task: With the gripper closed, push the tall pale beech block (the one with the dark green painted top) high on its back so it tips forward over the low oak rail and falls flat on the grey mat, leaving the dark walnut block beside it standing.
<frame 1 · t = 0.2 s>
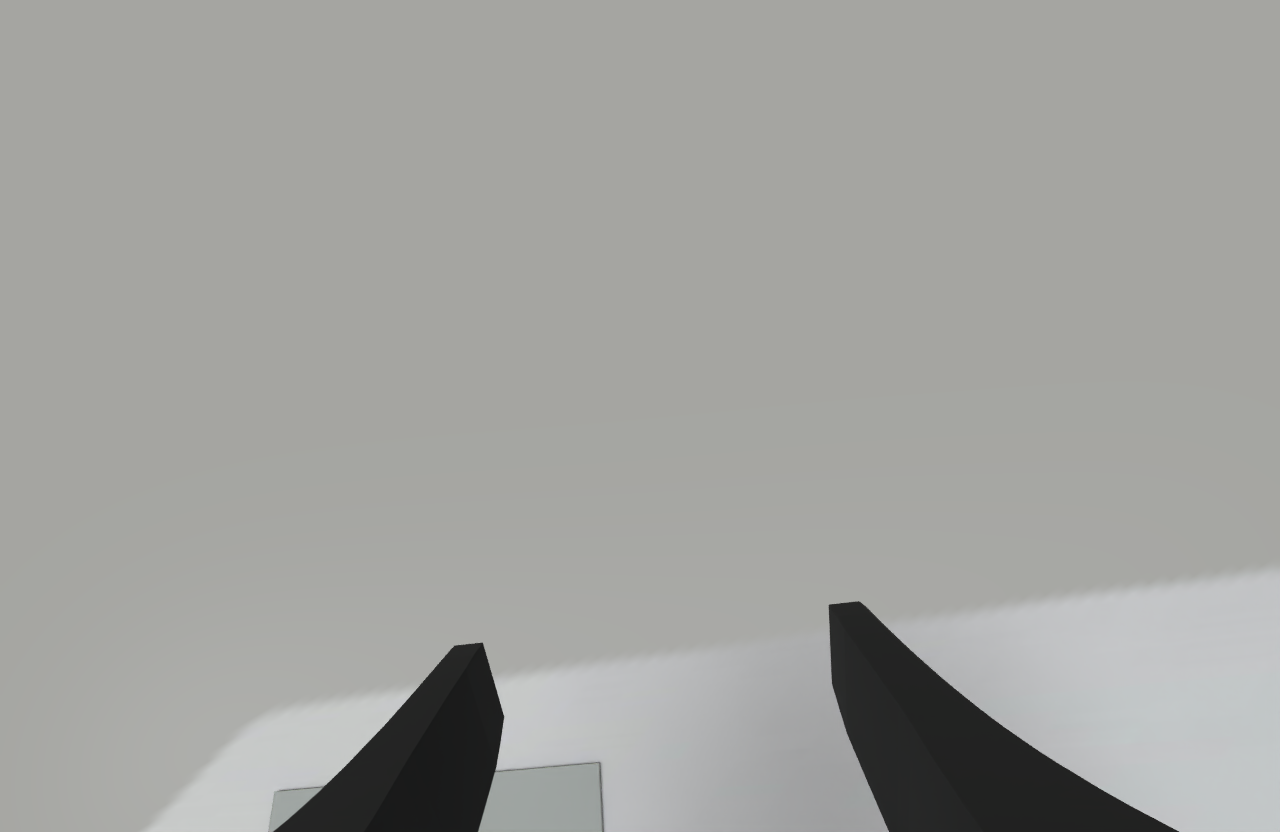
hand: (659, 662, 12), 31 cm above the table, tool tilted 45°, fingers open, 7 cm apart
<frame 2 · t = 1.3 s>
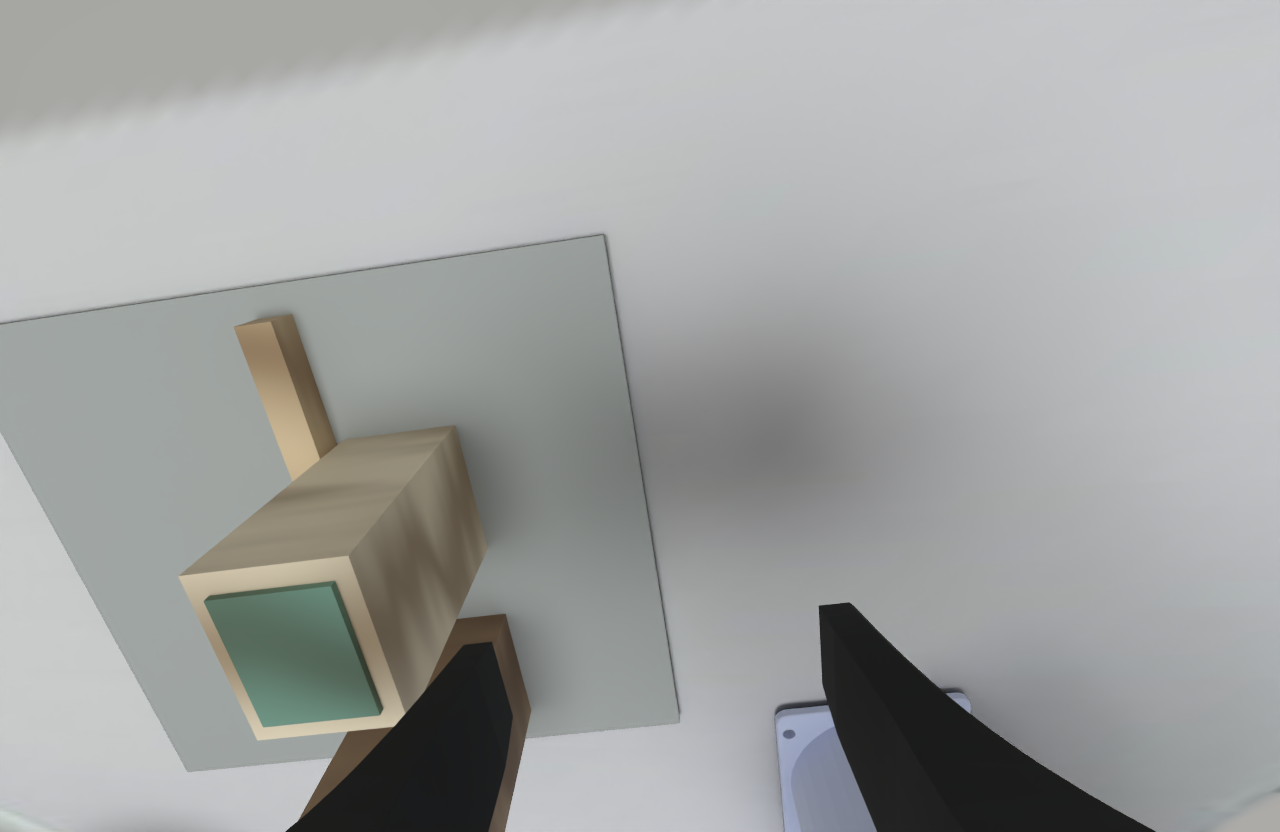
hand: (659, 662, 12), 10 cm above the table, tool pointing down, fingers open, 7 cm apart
grey mat: (362, 546, 23), on the table
beech block: (418, 495, 22), resting on grey mat
oak rail: (350, 561, 22), on the grey mat
walnut block: (470, 668, 25), resting on grey mat
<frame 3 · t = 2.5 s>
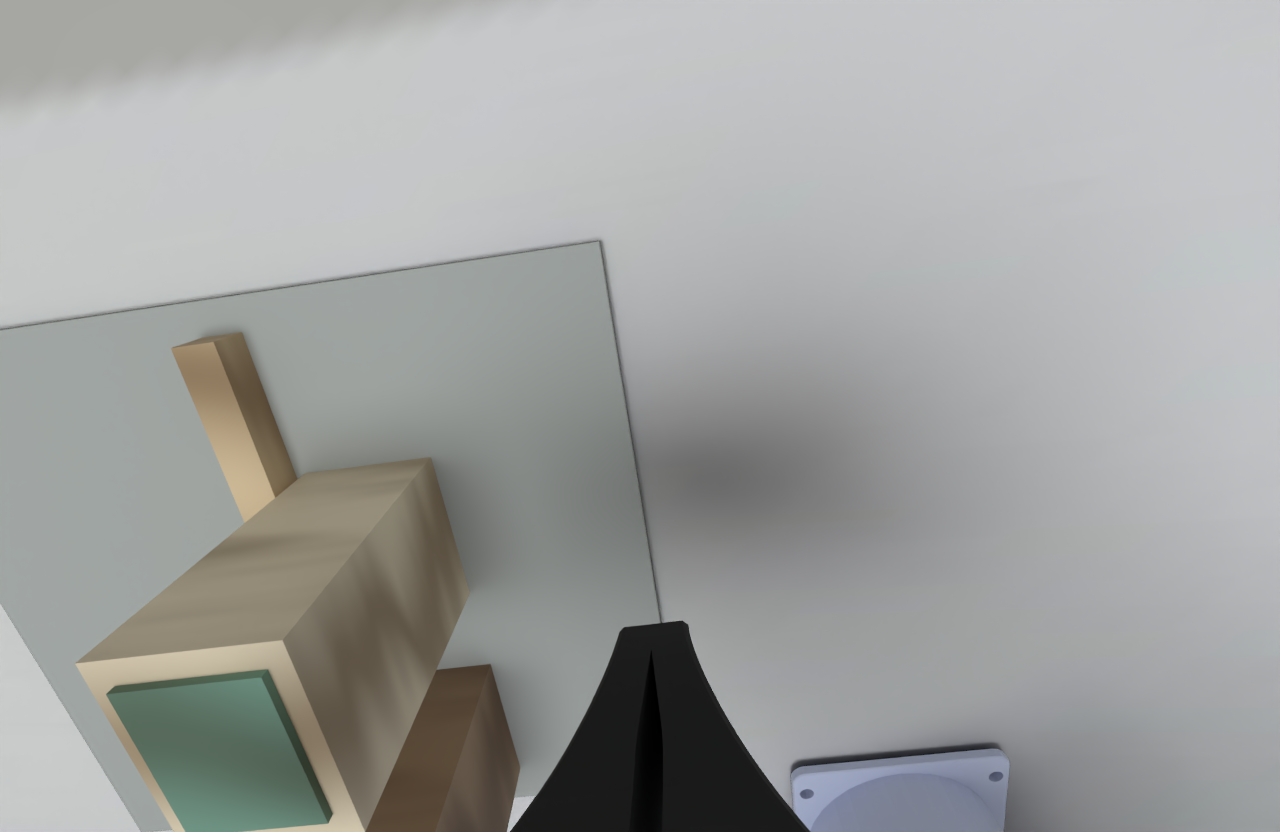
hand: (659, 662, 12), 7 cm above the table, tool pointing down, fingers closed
grey mat: (329, 589, 21), on the table
beech block: (390, 535, 19), resting on grey mat
oak rail: (314, 608, 20), on the grey mat
walnut block: (452, 723, 22), resting on grey mat
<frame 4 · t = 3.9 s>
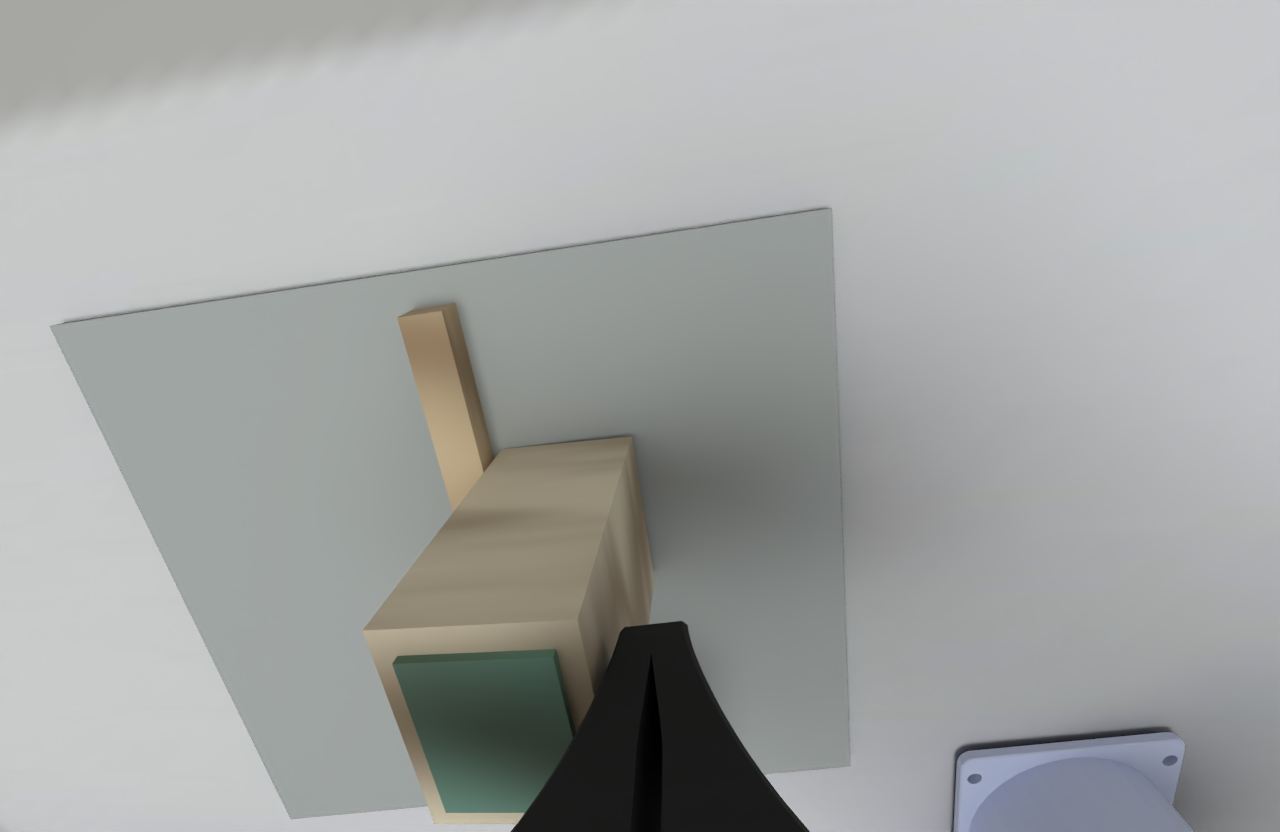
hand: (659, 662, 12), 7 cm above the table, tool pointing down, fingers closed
grey mat: (508, 569, 20), on the table
beech block: (580, 515, 19), point 1 cm above the table, tilted 5°, touching grey mat
oak rail: (501, 587, 19), on the grey mat
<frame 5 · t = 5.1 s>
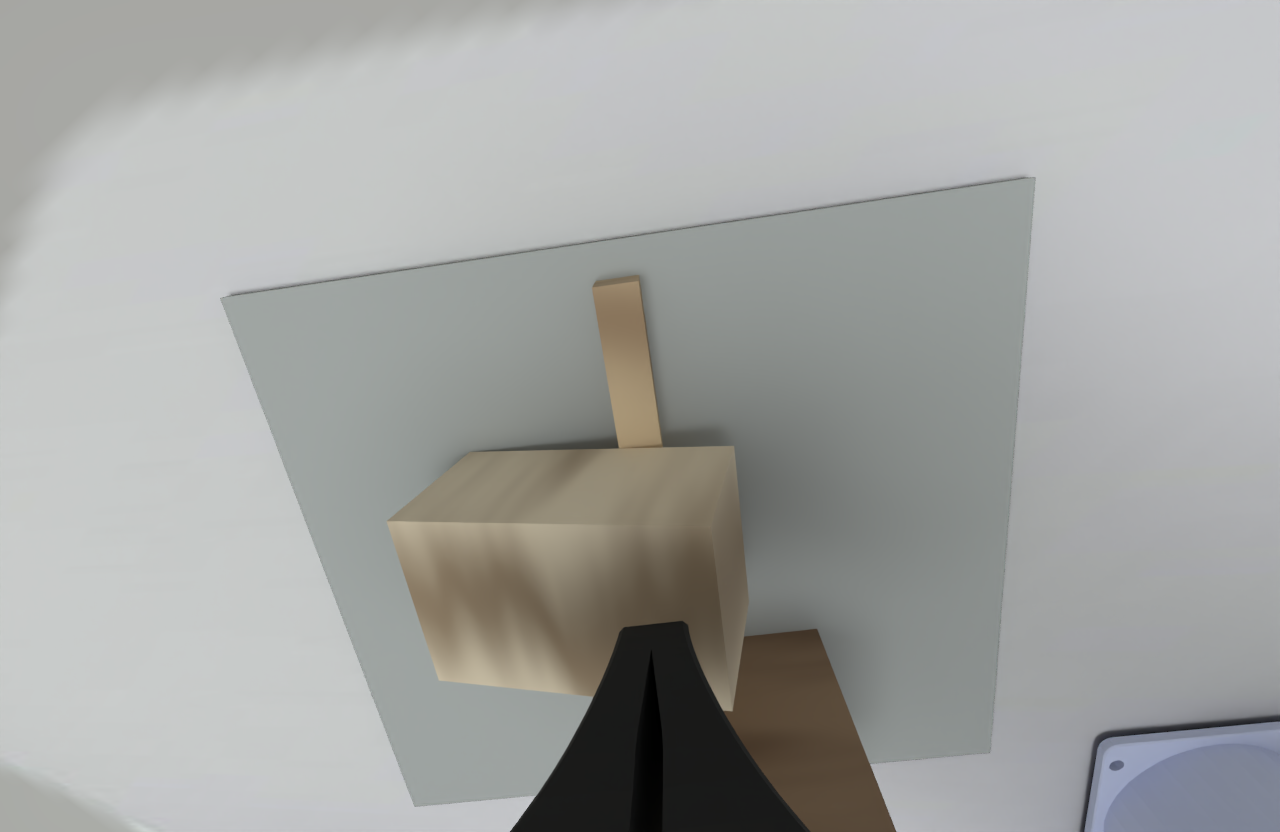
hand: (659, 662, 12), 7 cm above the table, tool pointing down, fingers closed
grey mat: (659, 550, 20), on the table
beech block: (733, 570, 15), point 4 cm above the table, tilted 105°, touching grey mat, oak rail
oak rail: (660, 568, 19), on the grey mat
walnut block: (763, 691, 21), resting on grey mat
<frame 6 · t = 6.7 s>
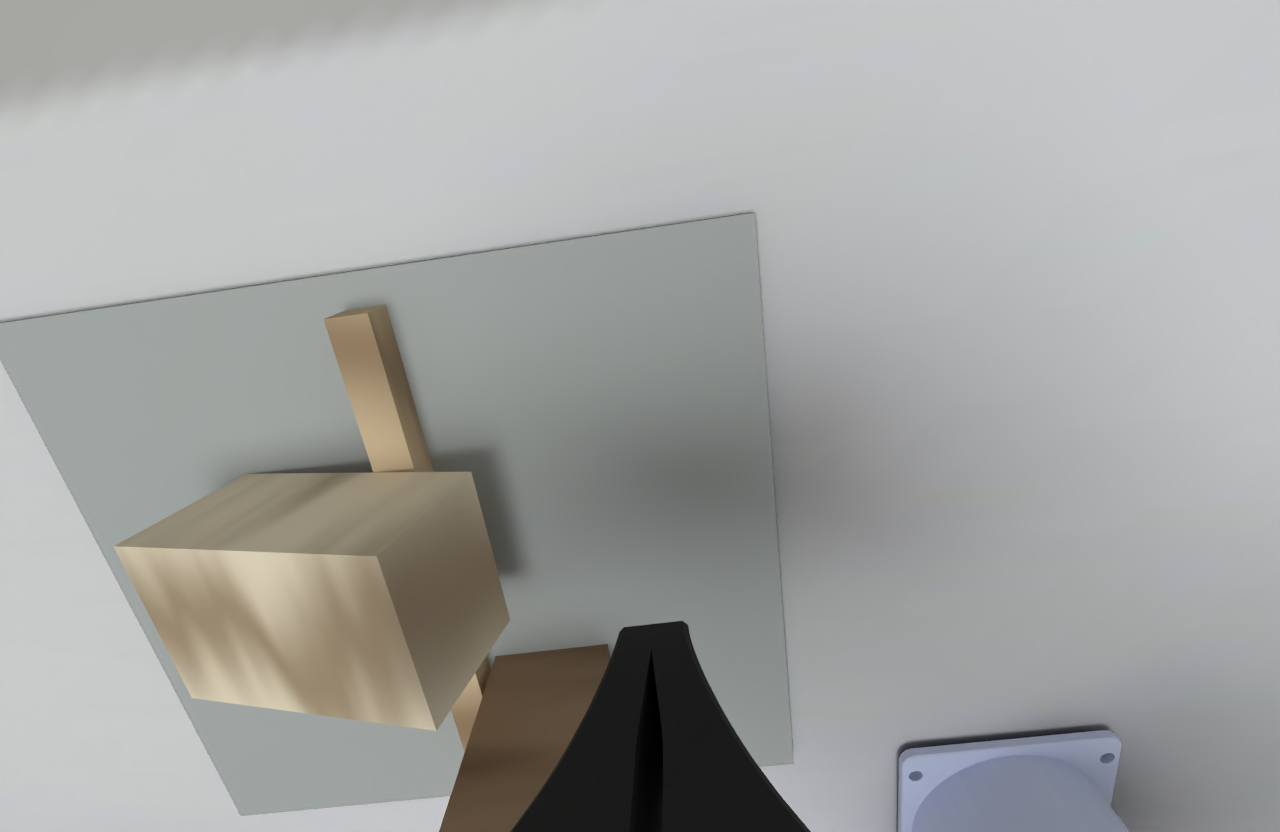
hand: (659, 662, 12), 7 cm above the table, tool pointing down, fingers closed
grey mat: (449, 568, 20), on the table
beech block: (454, 593, 16), point 4 cm above the table, tilted 105°, touching grey mat, oak rail
oak rail: (439, 586, 20), on the grey mat
walnut block: (564, 704, 22), resting on grey mat
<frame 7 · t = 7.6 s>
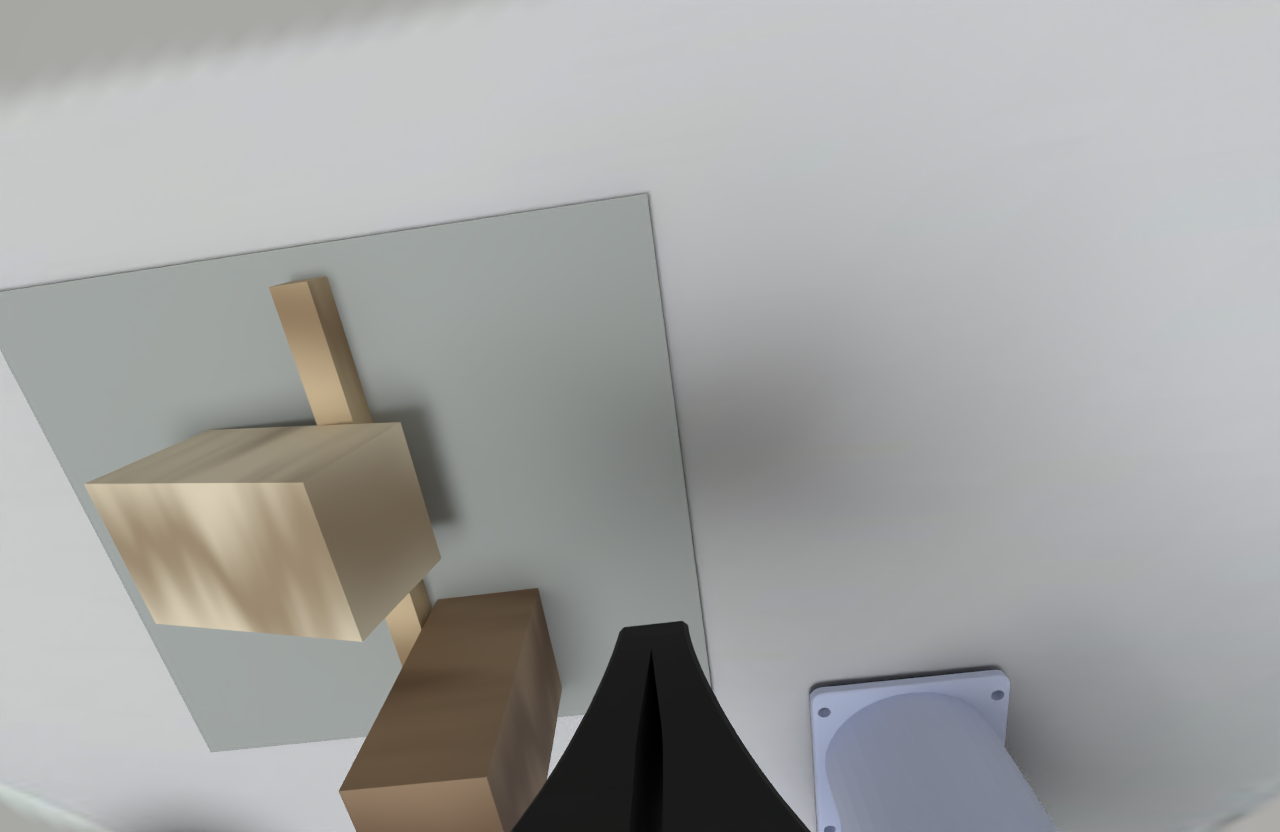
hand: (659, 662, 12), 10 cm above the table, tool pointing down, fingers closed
grey mat: (393, 518, 23), on the table
beech block: (382, 526, 18), point 4 cm above the table, tilted 105°, touching grey mat, oak rail
oak rail: (382, 532, 22), on the grey mat
walnut block: (501, 645, 24), resting on grey mat
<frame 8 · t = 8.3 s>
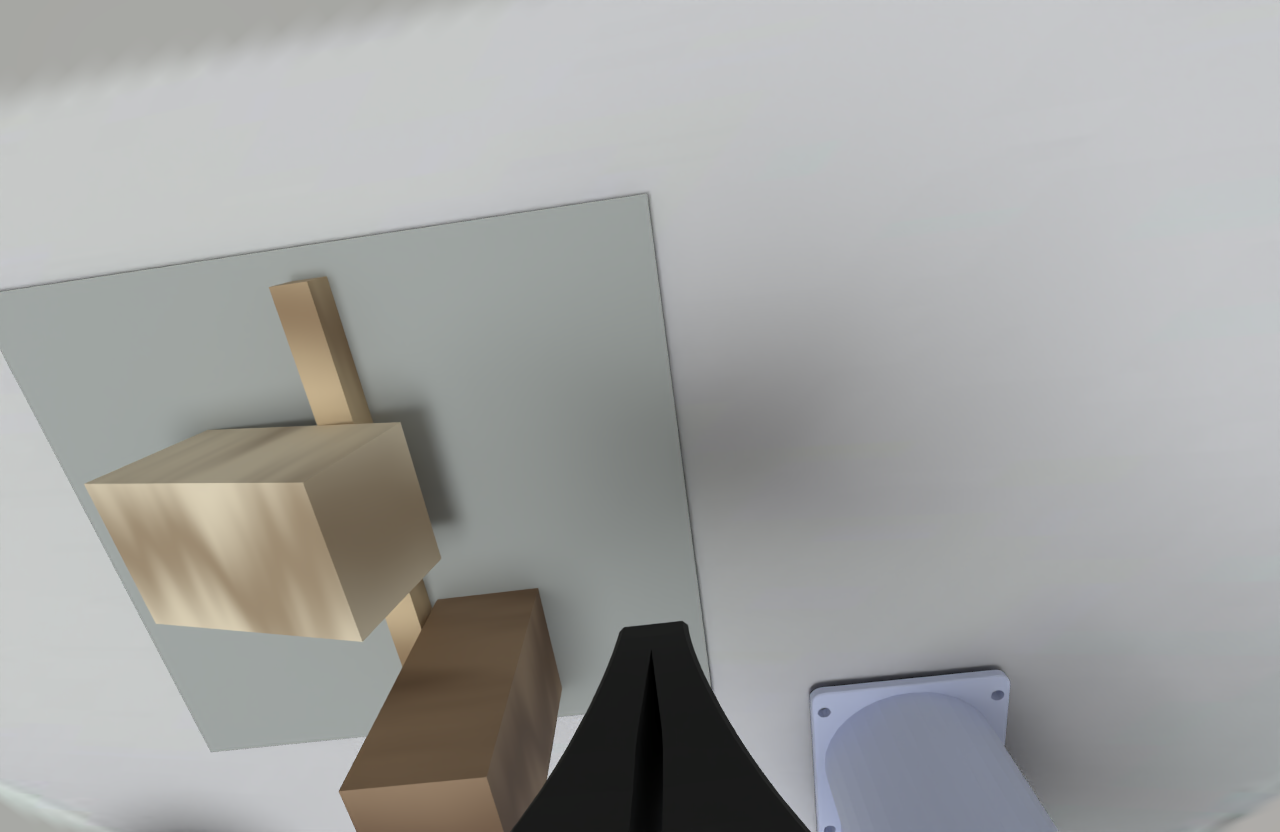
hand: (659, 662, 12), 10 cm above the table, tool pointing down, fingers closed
grey mat: (393, 518, 23), on the table
beech block: (382, 526, 18), point 4 cm above the table, tilted 105°, touching grey mat, oak rail
oak rail: (382, 532, 22), on the grey mat
walnut block: (501, 645, 24), resting on grey mat
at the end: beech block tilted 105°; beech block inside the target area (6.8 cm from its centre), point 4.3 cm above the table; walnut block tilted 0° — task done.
